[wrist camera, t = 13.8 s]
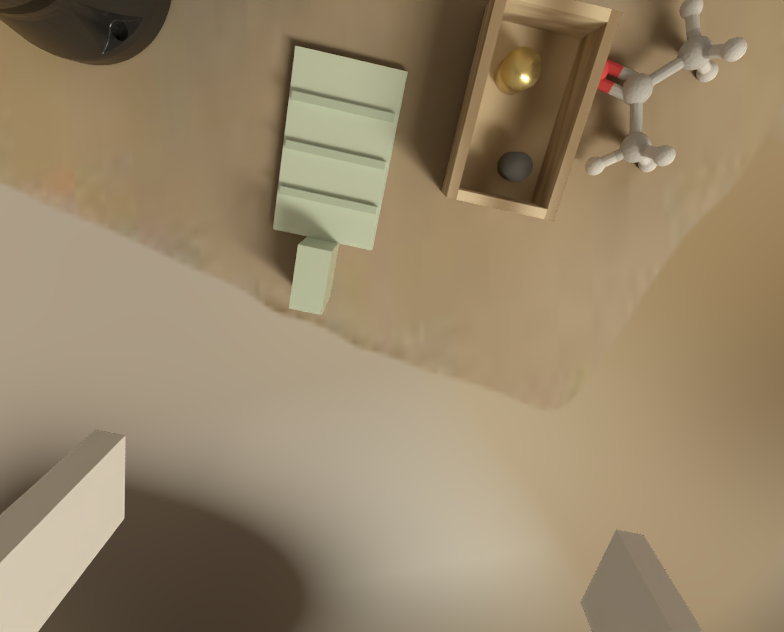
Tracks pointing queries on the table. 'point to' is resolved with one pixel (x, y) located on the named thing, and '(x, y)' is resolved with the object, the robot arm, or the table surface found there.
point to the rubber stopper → (515, 166)
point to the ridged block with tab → (334, 163)
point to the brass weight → (518, 71)
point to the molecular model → (641, 85)
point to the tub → (529, 103)
